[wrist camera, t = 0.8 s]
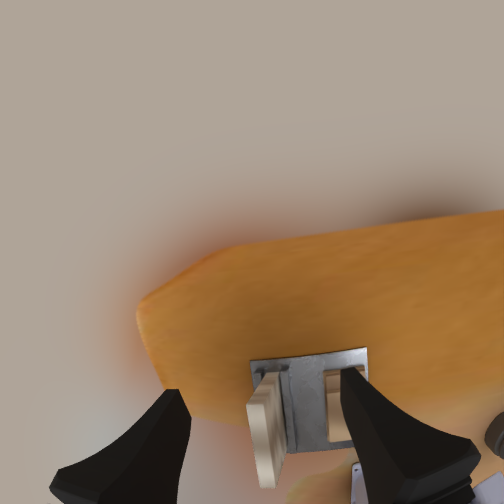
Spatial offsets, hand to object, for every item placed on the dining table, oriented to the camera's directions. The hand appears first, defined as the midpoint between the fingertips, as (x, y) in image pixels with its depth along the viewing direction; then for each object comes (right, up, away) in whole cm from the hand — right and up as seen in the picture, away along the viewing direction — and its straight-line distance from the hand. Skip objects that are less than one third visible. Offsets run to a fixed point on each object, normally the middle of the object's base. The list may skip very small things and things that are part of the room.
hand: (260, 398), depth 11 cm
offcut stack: (+10, -11, +16) cm, 22 cm away
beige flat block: (+3, -12, +18) cm, 22 cm away
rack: (+7, -11, +18) cm, 22 cm away
